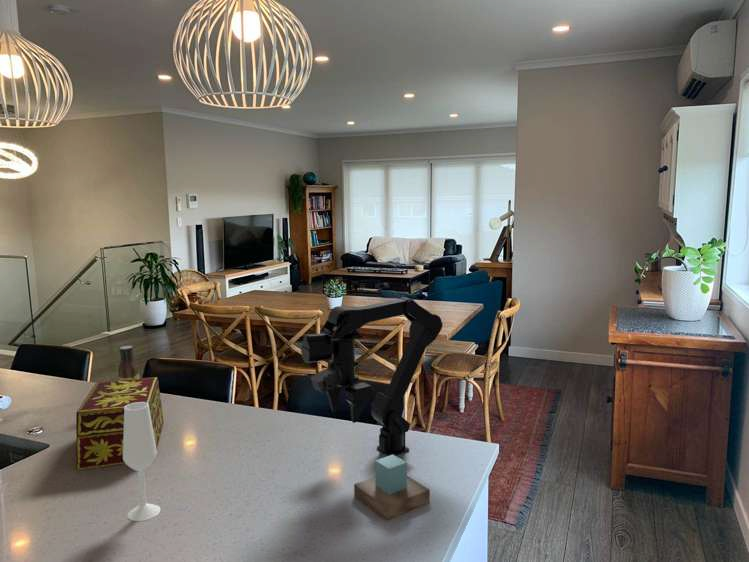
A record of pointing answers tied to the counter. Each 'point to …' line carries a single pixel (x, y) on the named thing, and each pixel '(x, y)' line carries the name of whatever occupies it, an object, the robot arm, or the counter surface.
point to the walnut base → (391, 497)
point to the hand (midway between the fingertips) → (344, 416)
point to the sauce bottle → (127, 364)
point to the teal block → (391, 474)
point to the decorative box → (112, 420)
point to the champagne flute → (139, 453)
